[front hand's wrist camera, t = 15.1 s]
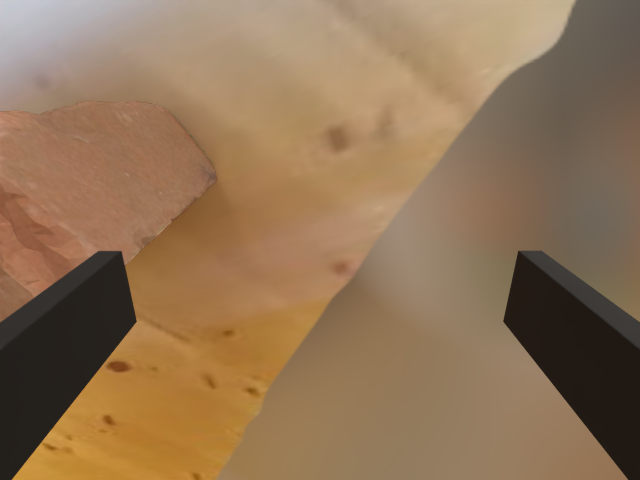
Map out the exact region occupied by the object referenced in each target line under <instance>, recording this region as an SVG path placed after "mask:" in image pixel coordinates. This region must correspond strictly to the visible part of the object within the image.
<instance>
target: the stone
mask: <svg viewBox="0 0 640 480" xmlns="http://www.w3.org/2000/svg"><path fill="white" fill-rule="evenodd" d="M216 180H217V176H216V172H215V169H214V168H213V166H212V164H211V163H210V161H209V160H208V158H207V157H206V156H205V155H204V154H203V153H202V151H201V150H200V149H199V147H198V146H197V145H196V143H195V142H194V141H193V139H192V138H191V137H190V136H189V135H188V133H187V132H186V131H185V130H184V129H183V128H182V127H181V125H180V124H179V123H178V122H177V120H176V119H175V118H174V117H173V116H172V114H171V113H170V112H168V111H167V110H166V109H164V108H163V107H161V106H159V105H155V104H150V103H138V102H134V101H131V102H128V103H106V102H97V101H87V102H79V103H77V104H76V105H73V106H68V107H63V108H59V109H55V110H51V111H47V112H44V113H42V114H40V115H35V114H32V113H28V112H25V111H2V112H0V322H1V321H3V320H4V319H5V318H7V317H8V316H10V315H11V314H12V313H14V312H15V311H16V310H18V309H19V308H21V307H22V306H23V305H25V304H26V303H27V302H29V301H30V300H32V299H33V298H34V297H36V296H37V295H38V294H40V293H41V292H43V291H44V290H45V289H47V288H48V287H49V286H51V285H52V284H54V283H55V282H56V281H58V280H59V279H60V278H62V277H63V276H65V275H66V274H67V273H69V272H70V271H71V270H73V269H74V268H76V267H77V266H78V265H80V264H81V263H82V262H84V261H85V260H87V259H88V258H89V257H91V256H92V255H93V254H95V253H96V252H98V251H122V255H123V260H124V264H125V265H127V264H128V263H129V262H130V261H131V260H132V259H133V258H134V257H135V256H136V255H137V254H138V253H139V252H140V251H141V250H142V249H143V248H144V247H145V246H146V245H147V244H149V243H150V242H151V241H152V240H153V239H155V238H156V237H157V236H158V235H159V234H160V233H161V232H162V231H163V230H164V229H165V228H166V227H167V226H168V225H169V224H170V223H172V221H174V220H175V219H176V218H177V217H178V216H179V215H180V214H181V213H183V212H184V211H185V210H186V209H187V208H188V207H189V206H190V205H191V204H192V203H193V202H194V201H195V200H197V199H198V198H199V197H200V196H201V195H202V194H203V193H204V192H205V191H206V190H207V189H208V188H210V187H211V186H212V185H213V184H214V183H215V182H216Z"/></svg>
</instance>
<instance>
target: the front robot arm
mask: <svg viewBox="0 0 640 480" xmlns="http://www.w3.org/2000/svg"><path fill="white" fill-rule="evenodd" d="M136 322H137V321H136V316H135V311H134V307H133V302H132V297H131V293H130V288H129V283H128V278H127V274H126V269H125V264H124V260H123V255H122V251H98V252H96V253H95V254H93V255H92V256H91V257H89V258H88V259H87V260H85V261H84V262H82V263H81V264H80V265H78V266H77V267H76V268H74V269H73V270H71V271H70V272H69V273H67V274H66V275H65V276H63V277H62V278H60V279H59V280H58V281H56V282H55V283H54V284H52V285H51V286H49V287H48V288H47V289H45V290H44V291H43V292H41V293H40V294H38V295H37V296H36V297H34V298H33V299H32V300H30V301H29V302H27V303H26V304H25V305H23V306H22V307H21V308H19V309H18V310H16V311H15V312H14V313H12V314H11V315H10V316H8V317H7V318H5V319H4V320H3V321H1V322H0V480H12V479H13V477H14V476H15V475H16V474H17V472H18V471H19V470H20V468H21V467H22V466H23V465H24V463H25V462H26V461H27V460H28V458H29V457H30V456H31V455H32V453H33V452H34V451H35V449H36V448H37V447H38V446H39V444H40V443H41V442H42V441H43V439H44V438H45V437H46V436H47V434H48V433H49V432H50V431H51V429H52V428H53V427H54V425H55V424H56V423H57V422H58V420H59V419H60V418H61V417H62V415H63V414H64V413H65V412H66V410H67V409H68V408H69V406H70V405H71V404H72V403H73V401H74V400H75V399H76V398H77V396H78V395H79V394H80V393H81V391H82V390H83V389H84V388H85V386H86V385H87V384H88V382H89V381H90V380H91V379H92V377H93V376H94V375H95V374H96V372H97V371H98V370H99V369H100V367H101V366H102V365H103V363H104V362H105V361H106V360H107V358H108V357H109V356H110V355H111V353H112V352H113V351H114V350H115V348H116V347H117V346H118V345H119V343H120V342H121V341H122V339H123V338H124V337H125V336H126V334H127V333H128V332H129V331H130V329H131V328H132V327H133V326H134V324H135V323H136ZM504 323H505V324H506V326H507V327H508V328H509V329H510V331H511V332H512V333H513V334H514V336H515V337H516V338H517V339H518V341H519V342H520V343H521V345H522V346H523V347H524V348H525V350H526V351H527V352H528V353H529V355H530V356H531V357H532V358H533V360H534V361H535V362H536V363H537V365H538V366H539V367H540V369H541V370H542V371H543V372H544V374H545V375H546V376H547V377H548V379H549V380H550V381H551V382H552V384H553V385H554V386H555V388H556V389H557V390H558V391H559V393H560V394H561V395H562V396H563V398H564V399H565V400H566V401H567V403H568V404H569V405H570V406H571V408H572V409H573V410H574V412H575V413H576V414H577V415H578V417H579V418H580V419H581V420H582V422H583V423H584V424H585V425H586V427H587V428H588V429H589V431H590V432H591V433H592V434H593V436H594V437H595V438H596V439H597V441H598V442H599V443H600V444H601V446H602V447H603V448H604V449H605V451H606V452H607V453H608V455H609V456H610V457H611V458H612V460H613V461H614V462H615V463H616V465H617V466H618V467H619V468H620V470H621V471H622V472H623V474H624V475H625V476H626V477H627V479H628V480H640V322H639V321H637V320H636V319H635V318H633V317H632V316H630V315H629V314H628V313H626V312H625V311H623V310H622V309H621V308H619V307H618V306H617V305H615V304H614V303H613V302H611V301H610V300H608V299H607V298H606V297H604V296H603V295H602V294H600V293H599V292H597V291H596V290H595V289H593V288H592V287H590V286H589V285H588V284H586V283H585V282H584V281H582V280H581V279H580V278H578V277H577V276H575V275H574V274H573V273H571V272H570V271H568V270H567V269H566V268H564V267H563V266H562V265H560V264H559V263H558V262H556V261H555V260H553V259H552V258H551V257H549V256H548V255H547V254H545V253H544V252H542V251H518V255H517V260H516V265H515V269H514V274H513V278H512V283H511V288H510V293H509V297H508V302H507V307H506V311H505V316H504Z"/></svg>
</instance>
